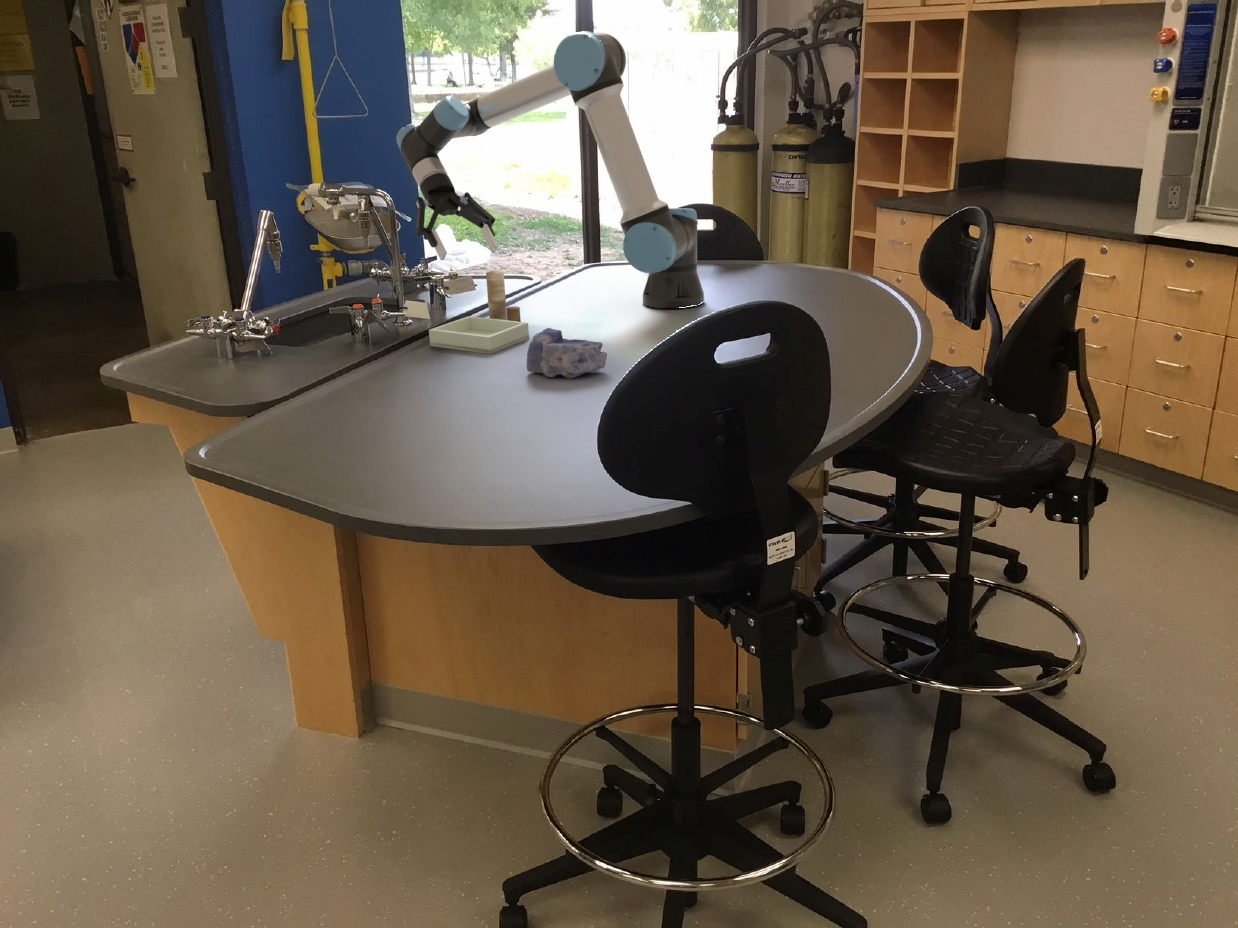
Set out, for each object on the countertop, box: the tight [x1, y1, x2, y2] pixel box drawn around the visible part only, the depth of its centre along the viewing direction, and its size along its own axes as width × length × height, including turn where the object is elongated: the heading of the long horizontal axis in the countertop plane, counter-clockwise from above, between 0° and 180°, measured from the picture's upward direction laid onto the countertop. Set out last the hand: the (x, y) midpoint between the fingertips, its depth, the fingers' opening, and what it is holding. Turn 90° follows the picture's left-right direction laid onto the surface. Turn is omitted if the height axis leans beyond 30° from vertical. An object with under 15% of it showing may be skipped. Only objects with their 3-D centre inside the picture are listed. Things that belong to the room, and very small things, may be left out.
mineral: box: [526, 327, 608, 379], centre depth 192 cm, size 14×10×10 cm
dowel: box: [485, 270, 507, 320], centre depth 231 cm, size 4×4×12 cm
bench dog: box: [506, 305, 522, 322], centre depth 227 cm, size 3×3×5 cm
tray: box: [428, 315, 530, 355], centre depth 218 cm, size 16×14×4 cm
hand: (470, 253), depth 236 cm, fingers open, 13 cm apart
